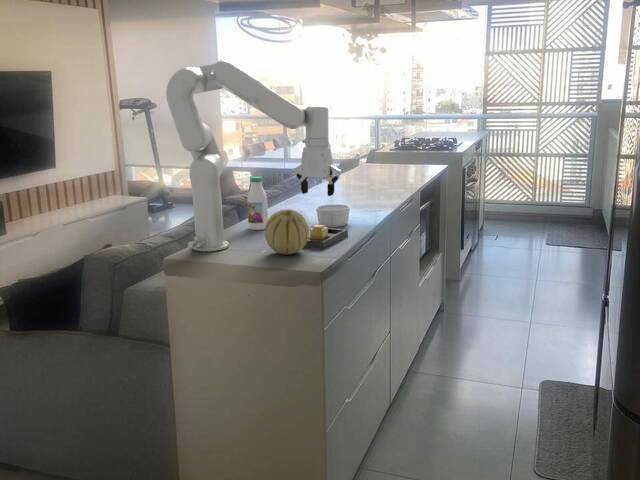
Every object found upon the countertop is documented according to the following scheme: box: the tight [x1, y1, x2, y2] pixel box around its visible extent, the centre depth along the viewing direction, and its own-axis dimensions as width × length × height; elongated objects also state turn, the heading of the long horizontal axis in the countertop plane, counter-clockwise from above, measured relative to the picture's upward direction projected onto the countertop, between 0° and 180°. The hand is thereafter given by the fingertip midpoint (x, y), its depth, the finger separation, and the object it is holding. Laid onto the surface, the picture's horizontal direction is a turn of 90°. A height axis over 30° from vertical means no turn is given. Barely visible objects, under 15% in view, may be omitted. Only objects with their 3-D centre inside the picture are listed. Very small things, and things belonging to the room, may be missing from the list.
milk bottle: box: [246, 176, 269, 231], centre depth 237 cm, size 8×8×20 cm
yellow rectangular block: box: [309, 224, 329, 241], centre depth 211 cm, size 4×4×7 cm
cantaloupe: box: [264, 208, 310, 255], centre depth 201 cm, size 15×15×15 cm
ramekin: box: [315, 203, 351, 228], centre depth 242 cm, size 13×13×7 cm
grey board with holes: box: [303, 227, 349, 250], centre depth 216 cm, size 20×8×2 cm, turn 153°
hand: (317, 194), depth 208 cm, fingers open, 9 cm apart
